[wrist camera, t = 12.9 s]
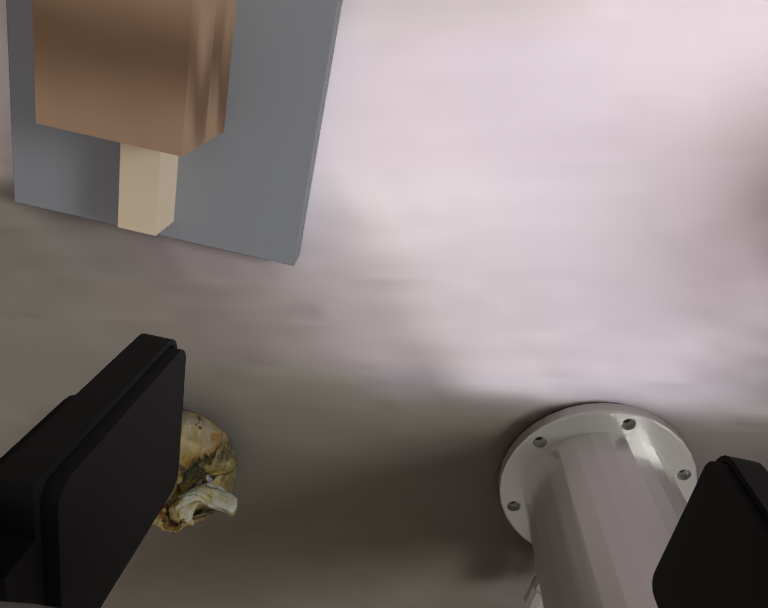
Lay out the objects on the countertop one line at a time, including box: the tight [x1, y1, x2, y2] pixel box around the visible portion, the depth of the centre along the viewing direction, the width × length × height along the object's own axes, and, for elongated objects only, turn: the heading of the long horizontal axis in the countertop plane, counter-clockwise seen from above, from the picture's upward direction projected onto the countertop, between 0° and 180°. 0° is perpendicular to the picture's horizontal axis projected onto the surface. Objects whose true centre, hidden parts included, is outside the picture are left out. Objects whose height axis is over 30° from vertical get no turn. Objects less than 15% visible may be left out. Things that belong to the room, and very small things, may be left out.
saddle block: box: [32, 0, 237, 157], centre depth 28 cm, size 7×6×6 cm
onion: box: [152, 411, 237, 532], centre depth 40 cm, size 8×8×8 cm
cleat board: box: [6, 0, 342, 266], centre depth 30 cm, size 20×16×4 cm
